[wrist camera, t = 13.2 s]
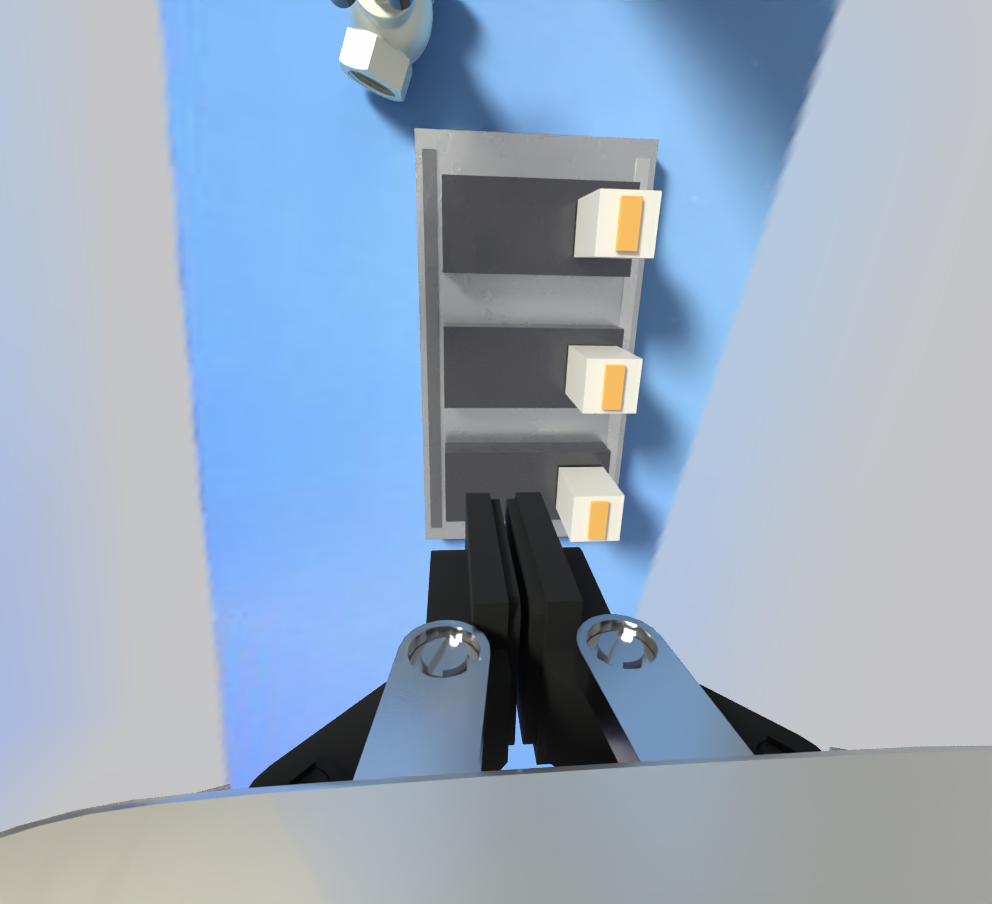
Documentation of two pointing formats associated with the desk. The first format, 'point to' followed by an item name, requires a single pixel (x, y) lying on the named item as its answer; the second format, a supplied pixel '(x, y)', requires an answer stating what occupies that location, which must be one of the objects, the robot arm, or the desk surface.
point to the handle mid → (603, 379)
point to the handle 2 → (589, 504)
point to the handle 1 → (617, 224)
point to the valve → (385, 43)
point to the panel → (515, 311)
